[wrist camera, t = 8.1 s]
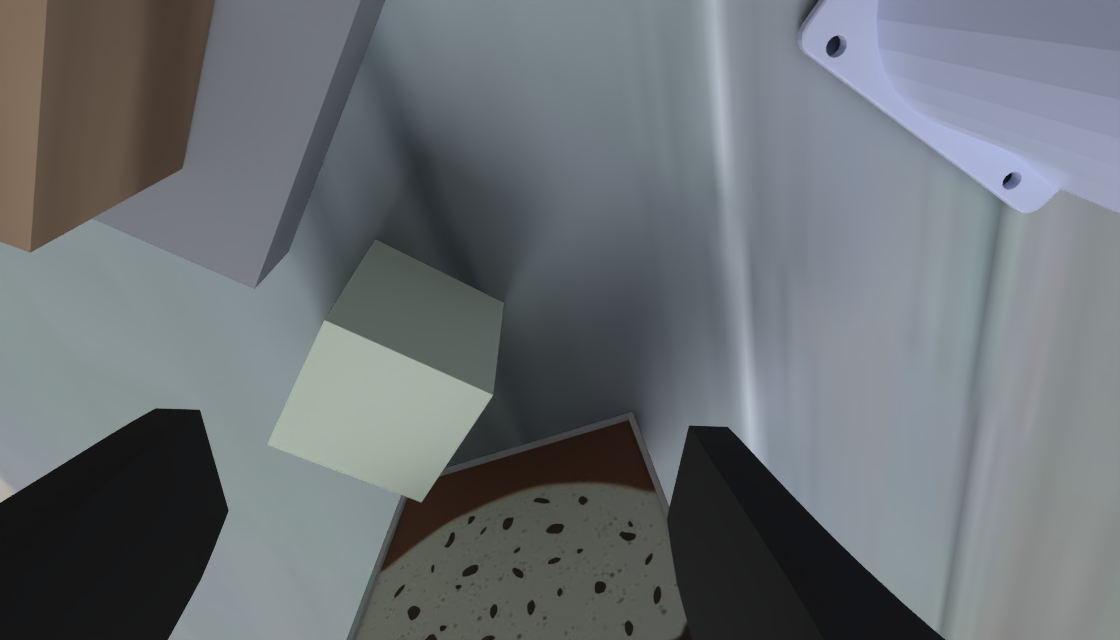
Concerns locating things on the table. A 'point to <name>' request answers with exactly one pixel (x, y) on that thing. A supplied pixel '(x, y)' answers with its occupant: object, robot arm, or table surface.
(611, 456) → the food container
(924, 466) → the table surface
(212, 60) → the base block
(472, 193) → the table surface
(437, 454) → the sage block
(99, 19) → the walnut block
